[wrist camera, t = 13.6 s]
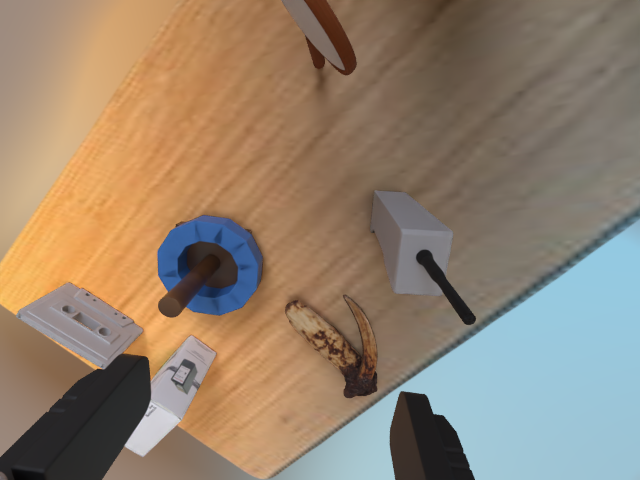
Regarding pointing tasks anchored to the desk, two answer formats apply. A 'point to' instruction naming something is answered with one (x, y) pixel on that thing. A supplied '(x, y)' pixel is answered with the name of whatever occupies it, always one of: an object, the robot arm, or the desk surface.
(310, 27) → the magnifying glass
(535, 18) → the desk surface
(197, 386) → the ink box
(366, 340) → the lashed bone hook
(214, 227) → the tape roll
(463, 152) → the desk surface
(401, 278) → the vintage mobile phone
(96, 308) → the cassette
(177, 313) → the peg stand
